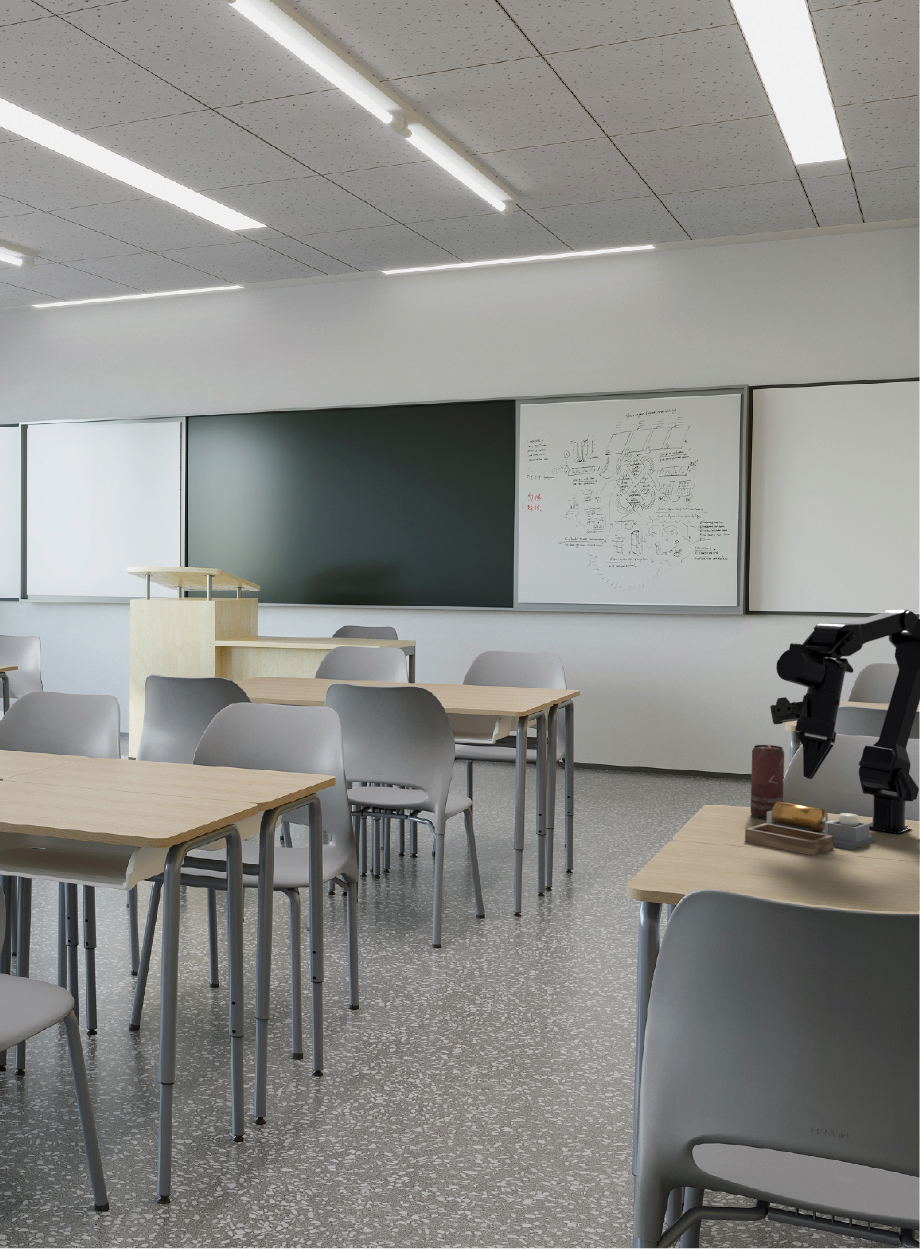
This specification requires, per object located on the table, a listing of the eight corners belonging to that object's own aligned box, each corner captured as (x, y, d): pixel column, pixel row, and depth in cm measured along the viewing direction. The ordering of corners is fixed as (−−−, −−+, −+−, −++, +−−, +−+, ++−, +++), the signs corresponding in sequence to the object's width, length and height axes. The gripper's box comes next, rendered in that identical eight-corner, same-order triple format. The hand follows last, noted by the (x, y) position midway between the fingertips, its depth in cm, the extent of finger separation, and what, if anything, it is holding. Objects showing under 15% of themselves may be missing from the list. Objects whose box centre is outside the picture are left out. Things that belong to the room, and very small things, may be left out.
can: (778, 813, 208) (780, 744, 207) (785, 820, 202) (787, 749, 201) (747, 812, 209) (749, 743, 208) (753, 819, 202) (755, 748, 202)
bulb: (844, 822, 186) (844, 812, 186) (861, 825, 184) (861, 815, 184) (835, 825, 184) (836, 815, 184) (853, 828, 182) (853, 818, 182)
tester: (781, 824, 198) (782, 806, 198) (873, 841, 185) (874, 822, 185) (757, 831, 192) (757, 812, 192) (850, 850, 179) (851, 830, 179)
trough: (765, 834, 189) (766, 823, 189) (833, 848, 180) (833, 836, 180) (745, 841, 184) (745, 829, 184) (813, 855, 175) (813, 842, 175)
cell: (782, 821, 196) (783, 800, 195) (830, 830, 189) (831, 808, 188) (771, 824, 193) (772, 803, 193) (820, 833, 186) (820, 811, 186)
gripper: (781, 688, 196) (765, 769, 195) (774, 678, 179) (757, 766, 178) (842, 700, 192) (827, 783, 191) (841, 690, 175) (824, 781, 174)
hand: (807, 778), depth 183 cm, fingers open, 9 cm apart
